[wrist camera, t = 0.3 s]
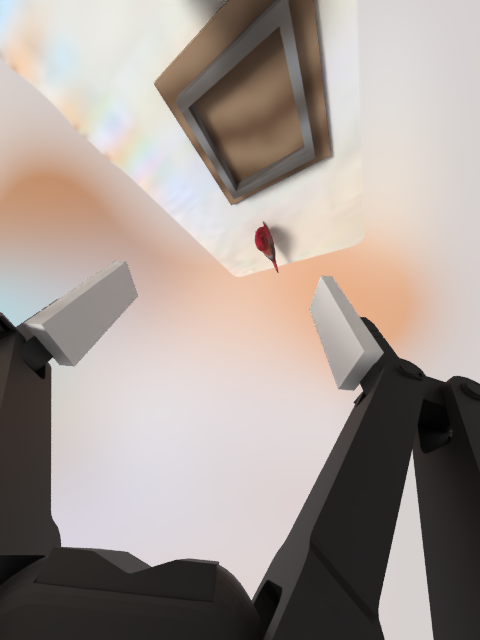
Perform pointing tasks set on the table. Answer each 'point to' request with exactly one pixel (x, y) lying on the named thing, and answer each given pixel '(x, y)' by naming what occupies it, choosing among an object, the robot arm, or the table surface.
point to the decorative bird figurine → (266, 244)
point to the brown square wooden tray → (252, 94)
